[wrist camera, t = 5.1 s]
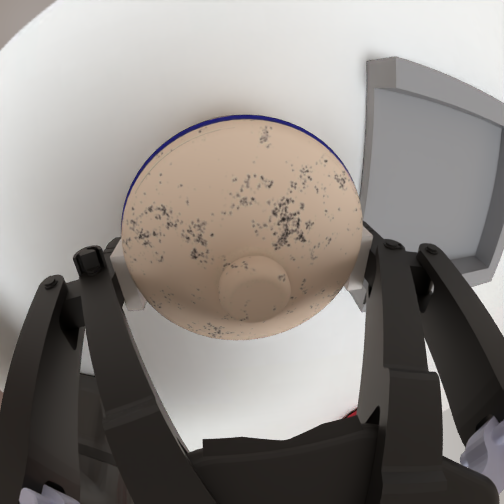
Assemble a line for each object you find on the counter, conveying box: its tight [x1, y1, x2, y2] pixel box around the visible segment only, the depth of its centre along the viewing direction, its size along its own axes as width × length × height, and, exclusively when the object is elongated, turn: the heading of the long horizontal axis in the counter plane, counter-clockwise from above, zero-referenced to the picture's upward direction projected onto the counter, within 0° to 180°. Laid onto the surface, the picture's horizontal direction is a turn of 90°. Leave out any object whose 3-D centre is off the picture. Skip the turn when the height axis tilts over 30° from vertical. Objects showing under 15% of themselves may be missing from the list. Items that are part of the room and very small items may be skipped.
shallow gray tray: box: [349, 57, 504, 312], centre depth 18 cm, size 18×18×4 cm
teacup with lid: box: [121, 115, 363, 340], centre depth 13 cm, size 12×9×12 cm
